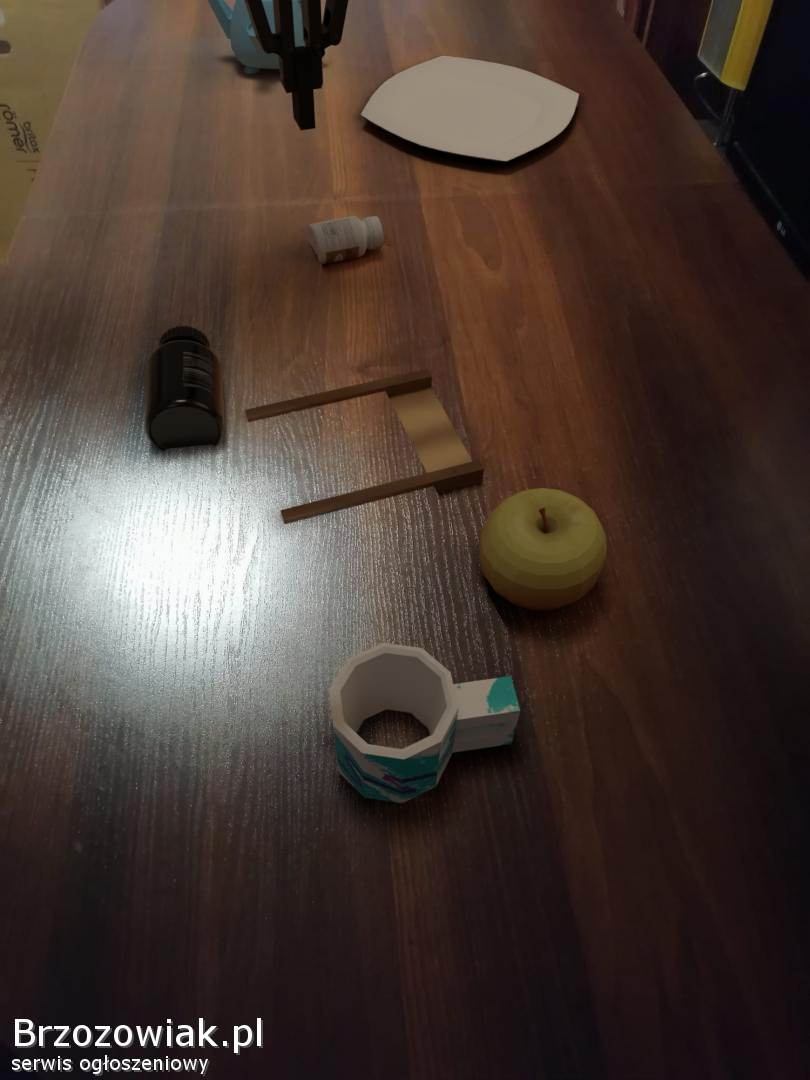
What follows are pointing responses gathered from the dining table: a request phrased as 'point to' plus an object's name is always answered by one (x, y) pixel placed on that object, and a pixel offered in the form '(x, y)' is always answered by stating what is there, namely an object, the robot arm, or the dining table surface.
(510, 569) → the apple
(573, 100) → the plate
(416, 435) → the brown u-shaped piece
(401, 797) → the mug
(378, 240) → the pill bottle
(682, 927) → the dining table surface
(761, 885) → the dining table surface
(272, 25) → the teapot
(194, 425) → the supplement bottle
